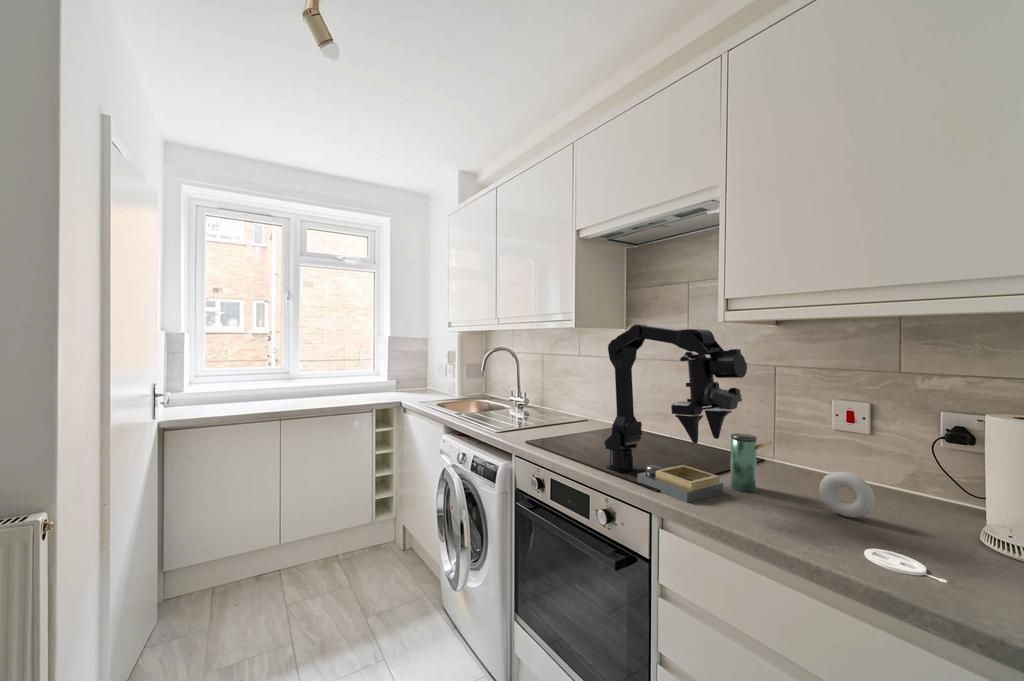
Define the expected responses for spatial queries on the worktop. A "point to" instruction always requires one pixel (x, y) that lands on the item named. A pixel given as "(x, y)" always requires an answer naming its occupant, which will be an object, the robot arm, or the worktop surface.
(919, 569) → the pendant
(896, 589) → the worktop surface
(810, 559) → the worktop surface
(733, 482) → the spout can
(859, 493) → the donut
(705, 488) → the grey tray base
